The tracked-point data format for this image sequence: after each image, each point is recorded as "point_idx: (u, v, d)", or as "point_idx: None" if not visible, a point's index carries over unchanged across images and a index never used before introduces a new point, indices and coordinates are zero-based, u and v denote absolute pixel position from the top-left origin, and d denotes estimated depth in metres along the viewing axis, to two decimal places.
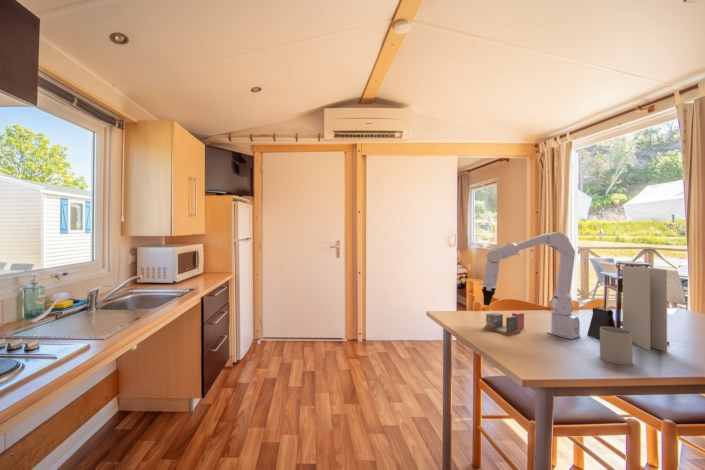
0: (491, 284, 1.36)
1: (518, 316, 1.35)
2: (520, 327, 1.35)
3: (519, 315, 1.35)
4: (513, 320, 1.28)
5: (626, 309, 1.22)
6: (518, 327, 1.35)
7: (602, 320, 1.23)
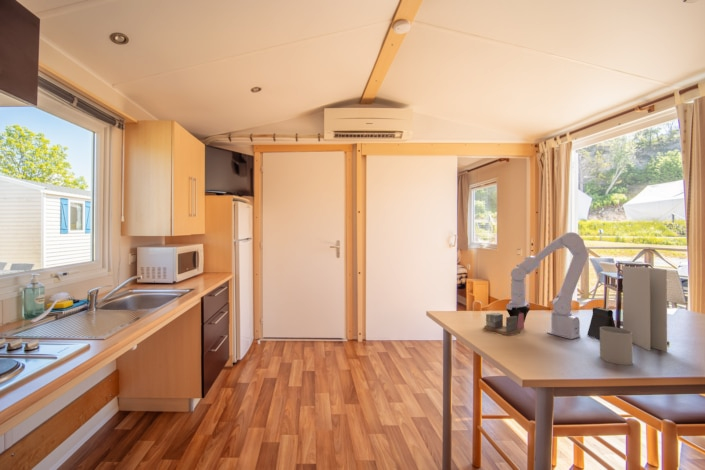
0: (516, 303, 1.35)
1: (518, 316, 1.35)
2: (520, 327, 1.35)
3: (519, 315, 1.35)
4: (513, 320, 1.28)
5: (626, 309, 1.22)
6: (518, 327, 1.35)
7: (602, 320, 1.23)
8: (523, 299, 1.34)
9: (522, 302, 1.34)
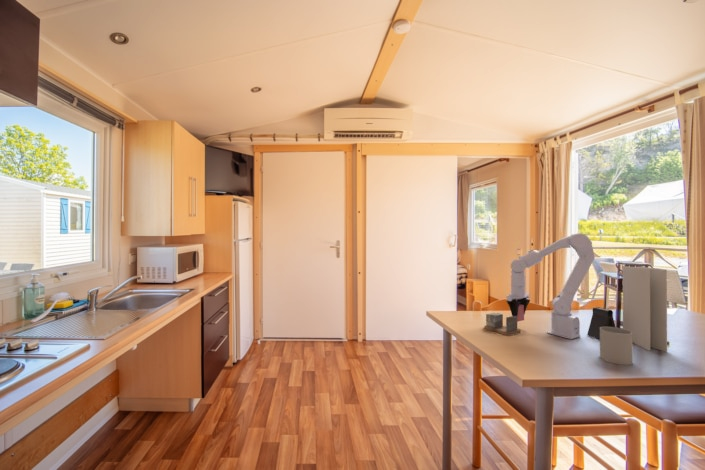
0: (516, 294, 1.35)
1: (518, 308, 1.35)
2: (520, 319, 1.35)
3: (519, 307, 1.35)
4: (513, 320, 1.28)
5: (626, 309, 1.22)
6: (518, 319, 1.35)
7: (602, 320, 1.23)
8: (523, 291, 1.34)
9: (522, 294, 1.34)
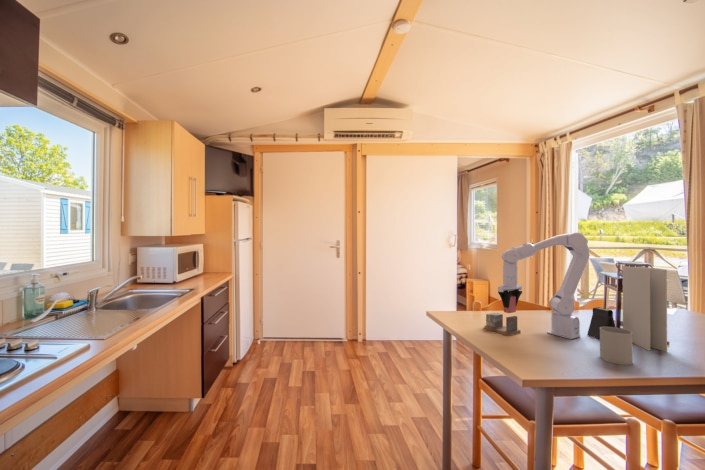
0: (507, 286, 1.32)
1: (510, 299, 1.32)
2: (512, 311, 1.33)
3: (511, 298, 1.32)
4: (513, 320, 1.28)
5: (626, 309, 1.22)
6: (510, 310, 1.32)
7: (602, 320, 1.23)
8: (515, 282, 1.31)
9: (514, 285, 1.31)
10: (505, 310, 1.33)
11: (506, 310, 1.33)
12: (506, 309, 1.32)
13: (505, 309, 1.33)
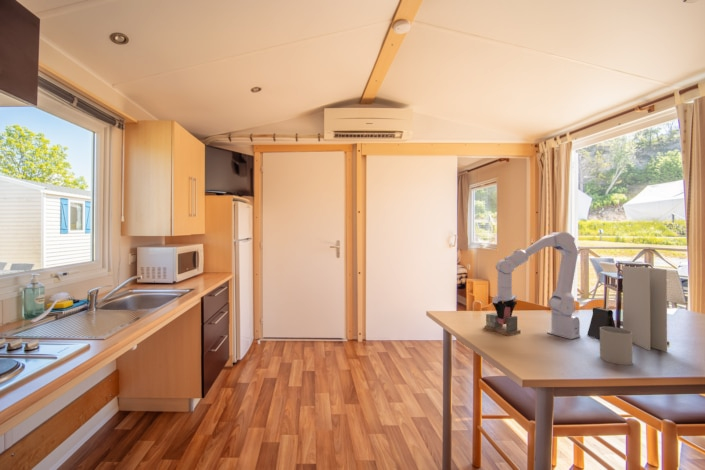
0: (502, 296, 1.30)
1: None
2: None
3: (505, 309, 1.30)
4: (513, 320, 1.28)
5: (626, 309, 1.22)
6: (504, 322, 1.30)
7: (602, 320, 1.23)
8: (509, 292, 1.29)
9: (508, 295, 1.29)
10: (499, 321, 1.31)
11: (500, 321, 1.30)
12: (501, 320, 1.30)
13: (499, 320, 1.31)
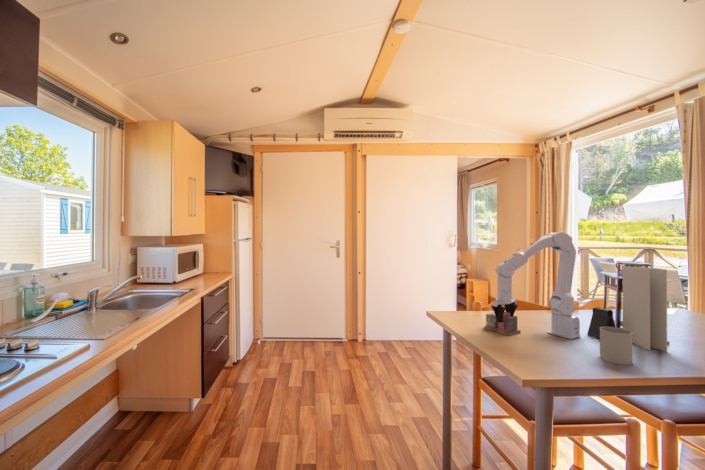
0: (502, 300, 1.30)
1: (504, 316, 1.30)
2: None
3: (505, 315, 1.30)
4: (513, 320, 1.28)
5: (626, 309, 1.22)
6: (504, 327, 1.30)
7: (602, 320, 1.23)
8: (509, 296, 1.29)
9: (508, 299, 1.29)
10: (499, 327, 1.31)
11: (500, 327, 1.30)
12: (501, 326, 1.30)
13: (499, 326, 1.31)
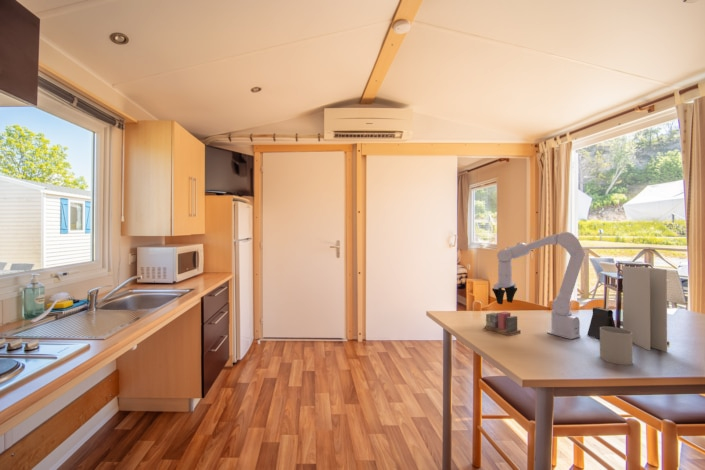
0: (502, 283, 1.40)
1: (504, 316, 1.30)
2: None
3: (505, 315, 1.30)
4: (513, 320, 1.28)
5: (626, 309, 1.22)
6: (504, 327, 1.30)
7: (602, 320, 1.23)
8: (509, 279, 1.39)
9: (508, 282, 1.39)
10: (499, 327, 1.31)
11: (500, 327, 1.30)
12: (501, 326, 1.30)
13: (499, 326, 1.31)
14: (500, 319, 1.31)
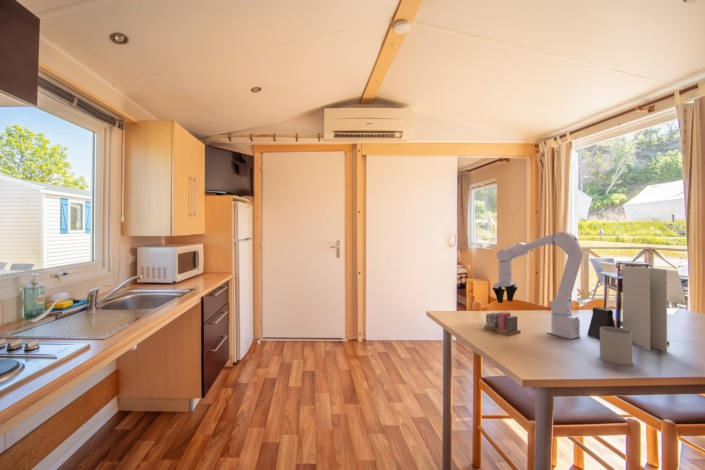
0: (502, 282, 1.42)
1: (504, 316, 1.30)
2: None
3: (505, 315, 1.30)
4: (513, 320, 1.28)
5: (626, 309, 1.22)
6: (504, 327, 1.30)
7: (602, 320, 1.23)
8: (509, 278, 1.42)
9: (508, 281, 1.42)
10: (499, 327, 1.31)
11: (500, 327, 1.30)
12: (501, 326, 1.30)
13: (499, 326, 1.31)
14: (500, 319, 1.31)
